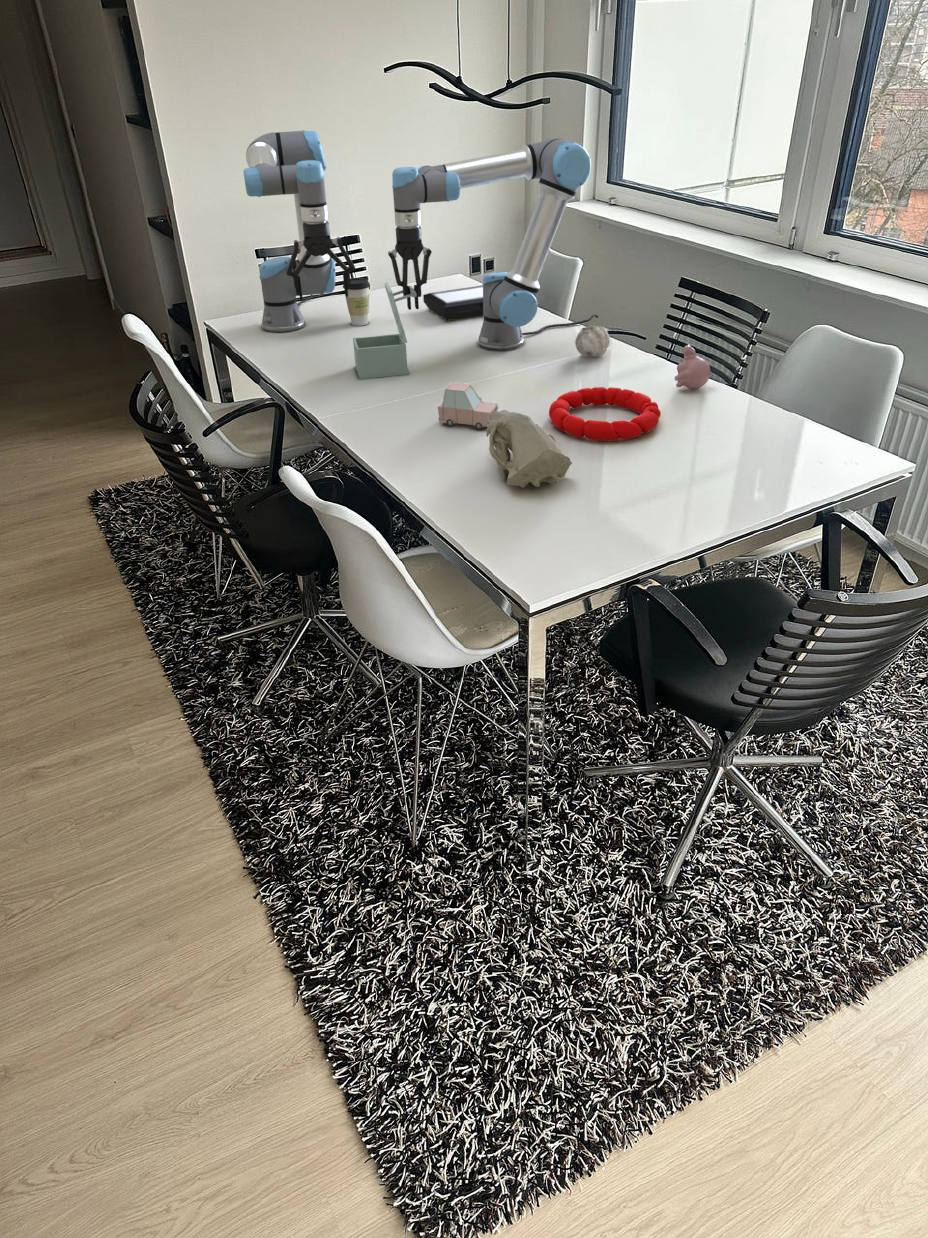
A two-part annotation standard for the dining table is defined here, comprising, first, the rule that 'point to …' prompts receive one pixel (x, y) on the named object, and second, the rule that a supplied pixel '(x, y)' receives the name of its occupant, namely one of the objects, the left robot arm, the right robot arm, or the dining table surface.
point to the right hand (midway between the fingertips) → (413, 307)
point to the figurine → (692, 370)
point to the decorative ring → (604, 428)
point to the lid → (394, 307)
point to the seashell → (592, 340)
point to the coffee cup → (358, 300)
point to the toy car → (465, 406)
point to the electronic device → (456, 303)
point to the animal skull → (525, 450)
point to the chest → (380, 356)
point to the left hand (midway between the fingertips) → (324, 297)
